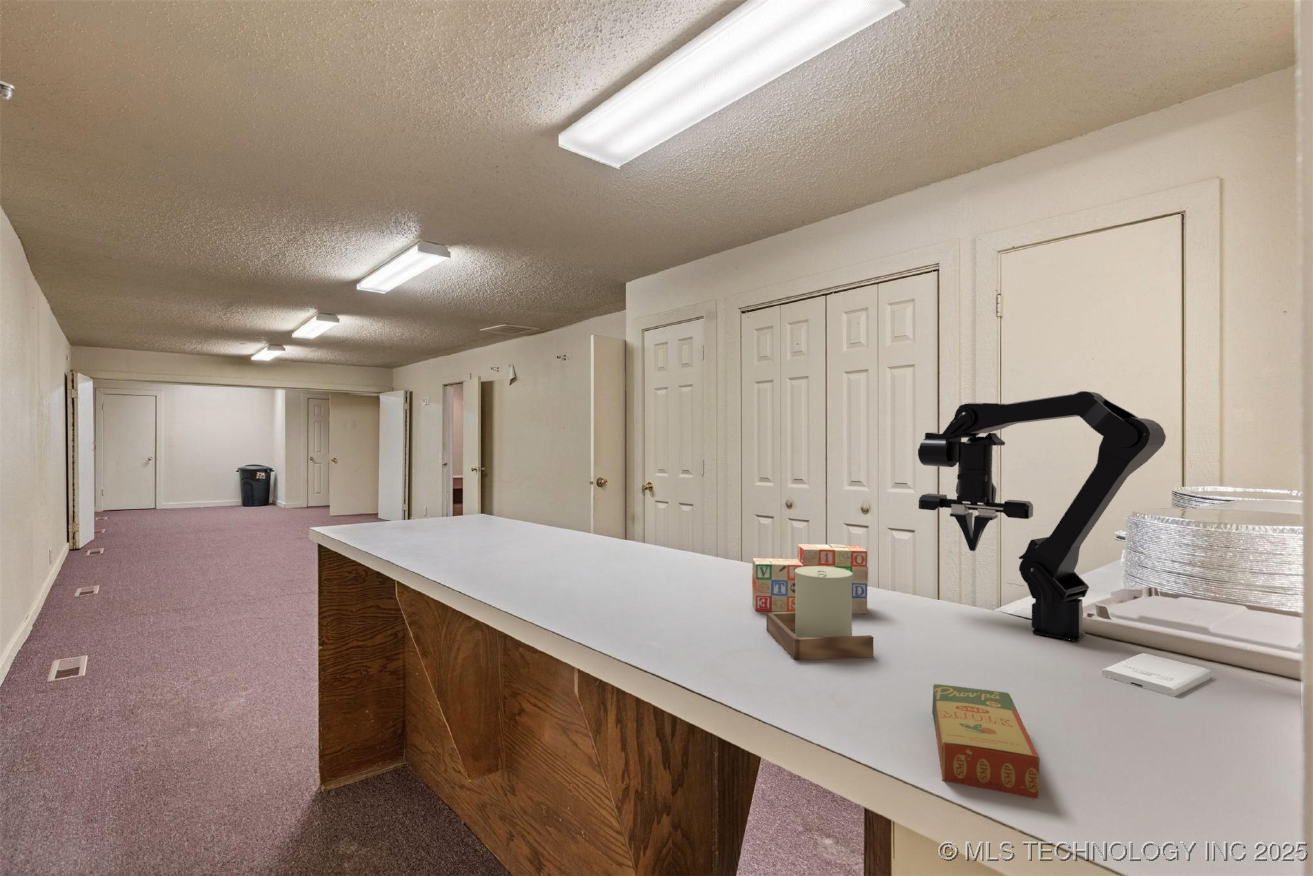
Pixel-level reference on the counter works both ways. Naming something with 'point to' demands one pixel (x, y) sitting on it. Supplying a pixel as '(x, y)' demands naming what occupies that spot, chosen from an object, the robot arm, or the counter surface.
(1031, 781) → the carton
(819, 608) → the can
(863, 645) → the walnut bay
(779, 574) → the stack of blocks
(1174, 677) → the external hard drive
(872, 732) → the counter surface
